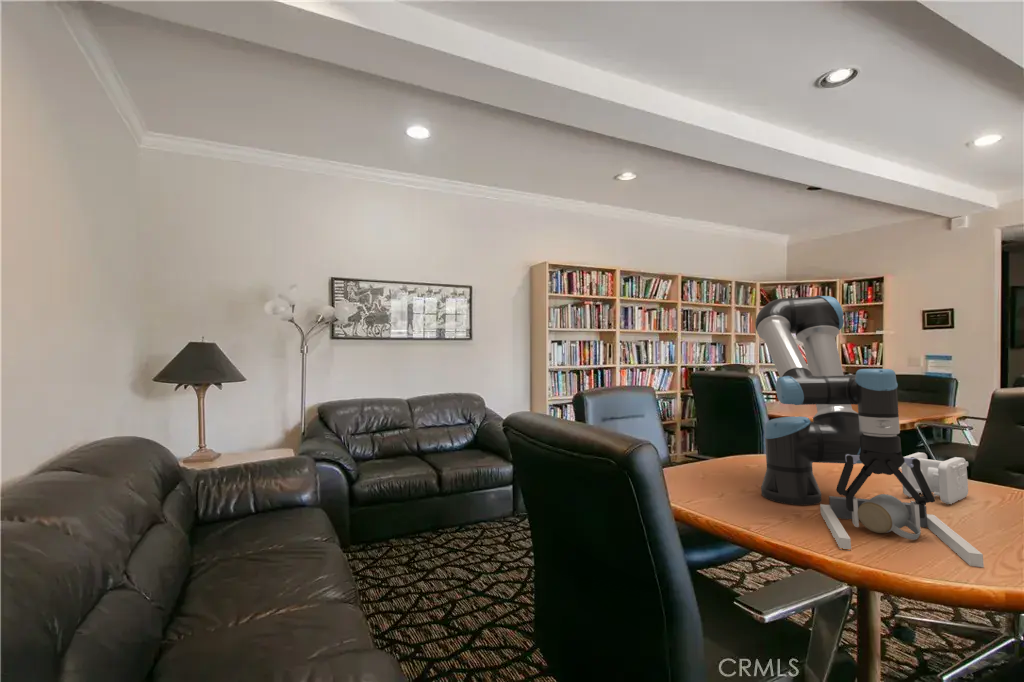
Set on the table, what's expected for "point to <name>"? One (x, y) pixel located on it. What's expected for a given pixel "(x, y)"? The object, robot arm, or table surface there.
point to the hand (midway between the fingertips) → (885, 528)
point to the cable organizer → (940, 477)
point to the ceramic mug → (887, 516)
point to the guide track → (931, 521)
